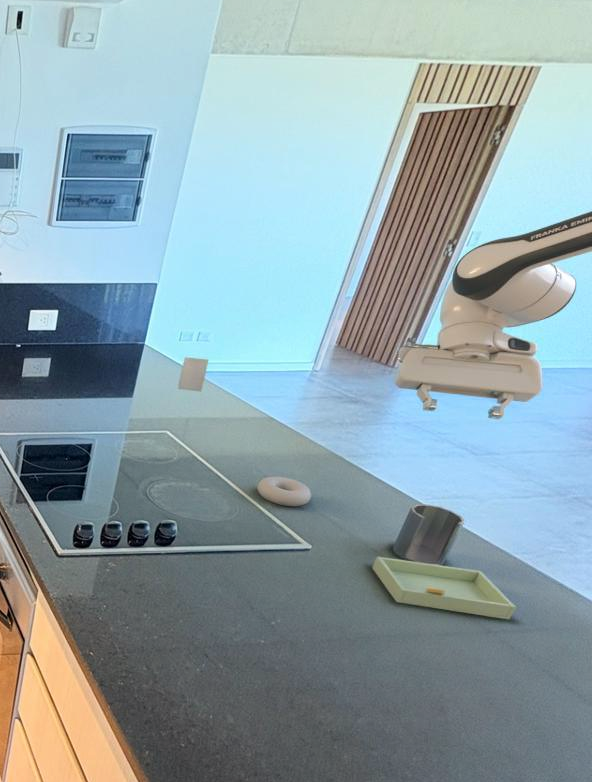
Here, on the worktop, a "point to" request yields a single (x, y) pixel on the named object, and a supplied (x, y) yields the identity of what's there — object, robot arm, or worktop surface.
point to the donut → (284, 491)
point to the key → (435, 591)
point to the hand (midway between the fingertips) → (461, 413)
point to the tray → (442, 587)
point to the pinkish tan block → (193, 374)
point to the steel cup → (428, 534)
